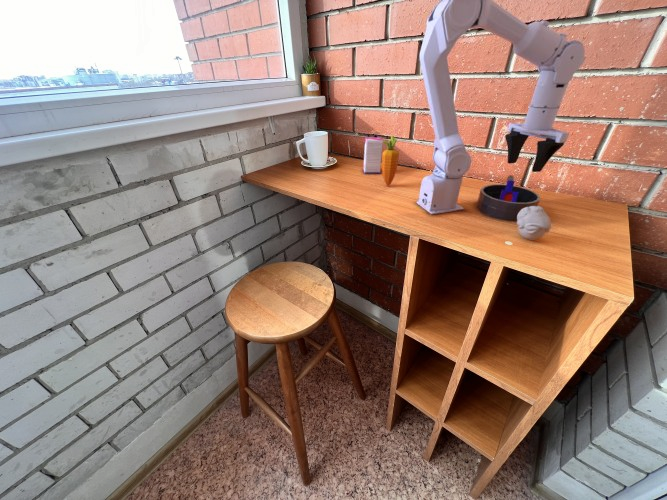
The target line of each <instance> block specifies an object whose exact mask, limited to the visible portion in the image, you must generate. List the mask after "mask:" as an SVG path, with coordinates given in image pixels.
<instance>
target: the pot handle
mask: <svg viewBox="0 0 667 500" xmlns="http://www.w3.org/2000/svg"><path fill="white" fill-rule="evenodd" d="M507 181H514V182H515V177H514V175H513V174H510V175H508V176H507V179H506V182H507Z"/></svg>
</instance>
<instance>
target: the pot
mask: <svg viewBox="0 0 667 500" xmlns="http://www.w3.org/2000/svg"><path fill="white" fill-rule="evenodd" d="M506 185H507V184H502V183H499V184H498V183H497V184H496V183H494V184H493V183H492V184H487V185H484V186H482V187H481V188H480V191H479V194H478V197H477V201H476V209H477V210H478V211H479V212H480V213H482V214H483V215H486V216H488V217H490V218H493V219H497V220H501V221H507V222H508V221H509V222H517V221H518V220H517V215H518V213H519V212H520V210H521V209H523V208H525V207H530V206H539V204H540V201H541V196H540V195H539V194H538V193H537V192H535V191H534V190H531V189H529V188H526V187H522V186H518V185H513V188H512V191H513V192H519V193H518V196H517V199H516V202H508V201H503V200H499V198H500V195H501V192H502V190H505V188H506Z"/></svg>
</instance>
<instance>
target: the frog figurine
mask: <svg viewBox="0 0 667 500" xmlns="http://www.w3.org/2000/svg"><path fill="white" fill-rule="evenodd" d="M517 220H518V221H516V225H517V230H518V233H519V235H520V236H521V237H522V238H524V239H525V240H529V241H535V240H539V239H541V238H542V237H543V236H544V235H545V234H547V233H549V232H550V230H551V229H552V221H551V218H550V216H549V214H547V212H546V211H545V210H544V208H543V206H541V205H540V206H539V205H538V206H530V207H525V208H523V209H521V210H520V212H519V213H518V215H517Z"/></svg>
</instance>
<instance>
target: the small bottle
mask: <svg viewBox="0 0 667 500" xmlns="http://www.w3.org/2000/svg"><path fill="white" fill-rule="evenodd" d="M514 184H515V180H514V181H507V180H506V184H505V185H506V188H505V190H502V192H501V195H500V198H499V200H503V201H508V202H516V199H517V196H518V193H519V192H513V191H512V188H513V186H515V185H514Z"/></svg>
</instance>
